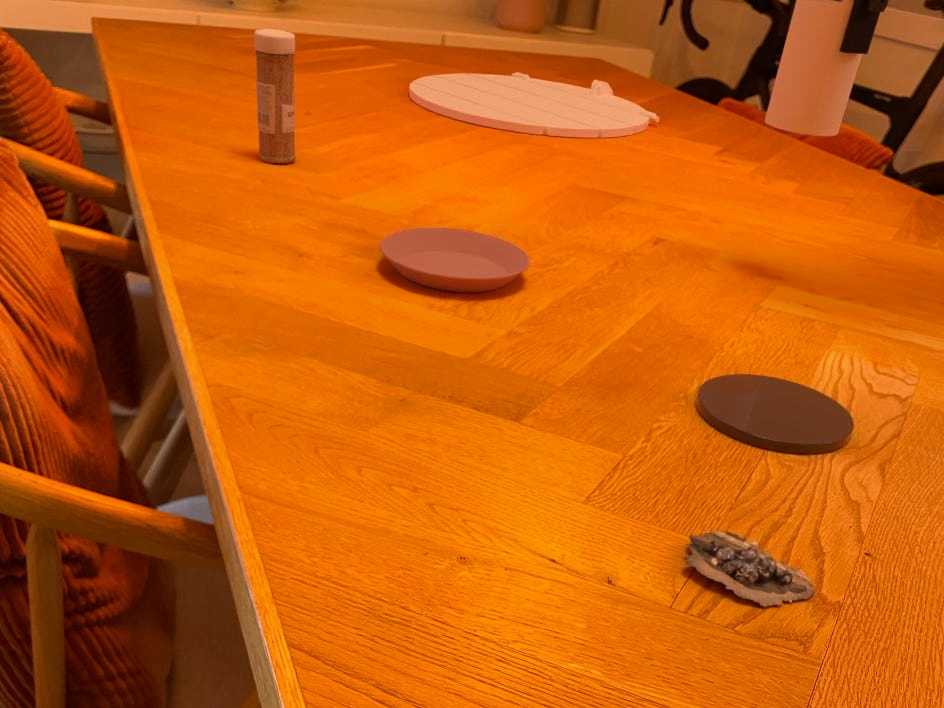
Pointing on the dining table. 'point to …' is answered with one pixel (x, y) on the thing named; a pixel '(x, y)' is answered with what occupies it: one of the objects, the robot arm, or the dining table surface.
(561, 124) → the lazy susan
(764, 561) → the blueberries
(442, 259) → the plate
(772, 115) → the cylindrical container
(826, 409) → the coaster
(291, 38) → the sprinkles bottle
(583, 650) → the dining table surface
